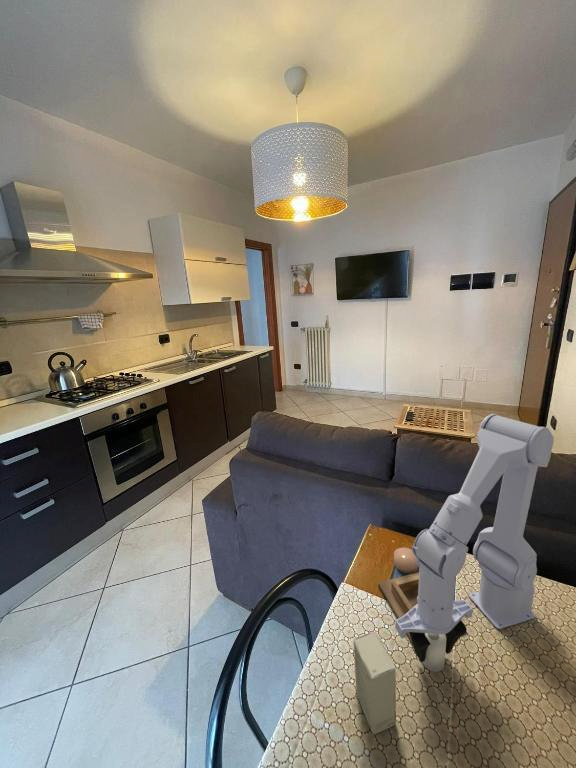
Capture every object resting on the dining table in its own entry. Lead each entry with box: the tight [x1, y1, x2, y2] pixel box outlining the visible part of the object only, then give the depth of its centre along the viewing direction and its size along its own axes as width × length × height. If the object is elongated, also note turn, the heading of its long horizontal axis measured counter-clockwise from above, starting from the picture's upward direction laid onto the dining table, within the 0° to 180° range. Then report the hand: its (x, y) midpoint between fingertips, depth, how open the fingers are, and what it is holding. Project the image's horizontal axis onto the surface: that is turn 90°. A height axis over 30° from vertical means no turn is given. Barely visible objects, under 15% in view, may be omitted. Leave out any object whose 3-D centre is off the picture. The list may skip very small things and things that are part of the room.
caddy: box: [377, 571, 466, 646], centre depth 69 cm, size 12×14×4 cm
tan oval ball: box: [393, 547, 419, 575], centre depth 81 cm, size 6×6×2 cm
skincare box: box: [353, 631, 397, 735], centre depth 51 cm, size 6×4×12 cm
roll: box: [421, 633, 446, 673], centre depth 59 cm, size 4×4×6 cm
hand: (432, 652), depth 59 cm, fingers open, 5 cm apart
